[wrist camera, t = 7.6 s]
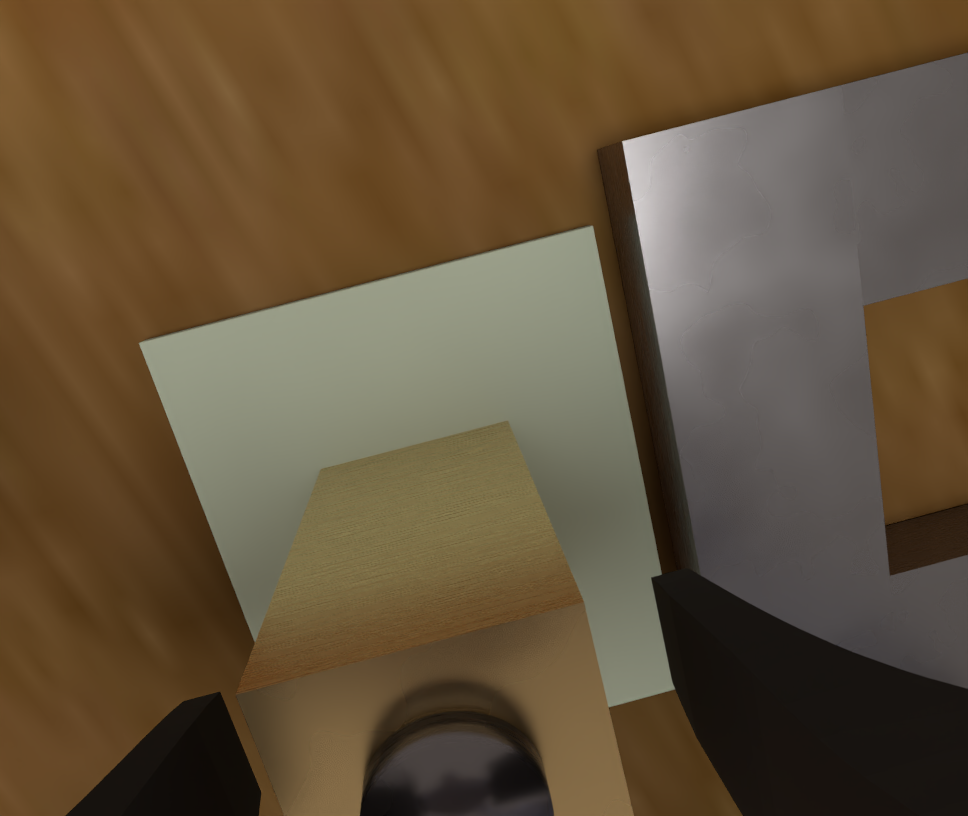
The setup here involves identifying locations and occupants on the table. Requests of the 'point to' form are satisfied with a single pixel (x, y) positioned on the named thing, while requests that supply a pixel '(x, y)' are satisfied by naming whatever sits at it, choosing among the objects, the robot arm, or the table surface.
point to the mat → (429, 418)
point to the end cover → (431, 647)
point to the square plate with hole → (798, 348)
